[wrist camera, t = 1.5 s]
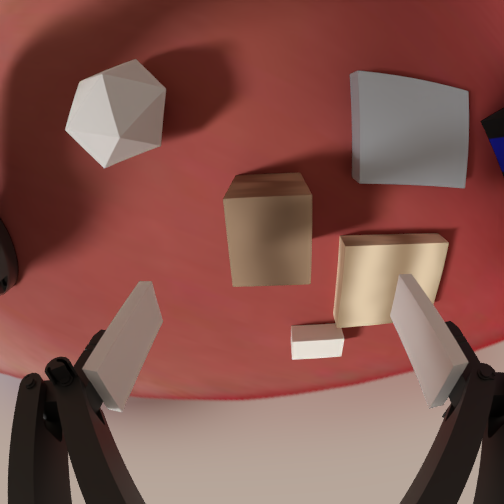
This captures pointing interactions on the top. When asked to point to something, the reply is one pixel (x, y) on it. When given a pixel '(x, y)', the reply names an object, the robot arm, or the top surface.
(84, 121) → the die
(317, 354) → the white brick
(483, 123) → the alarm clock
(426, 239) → the oak slab
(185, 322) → the top surface
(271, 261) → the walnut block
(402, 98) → the grey slab
